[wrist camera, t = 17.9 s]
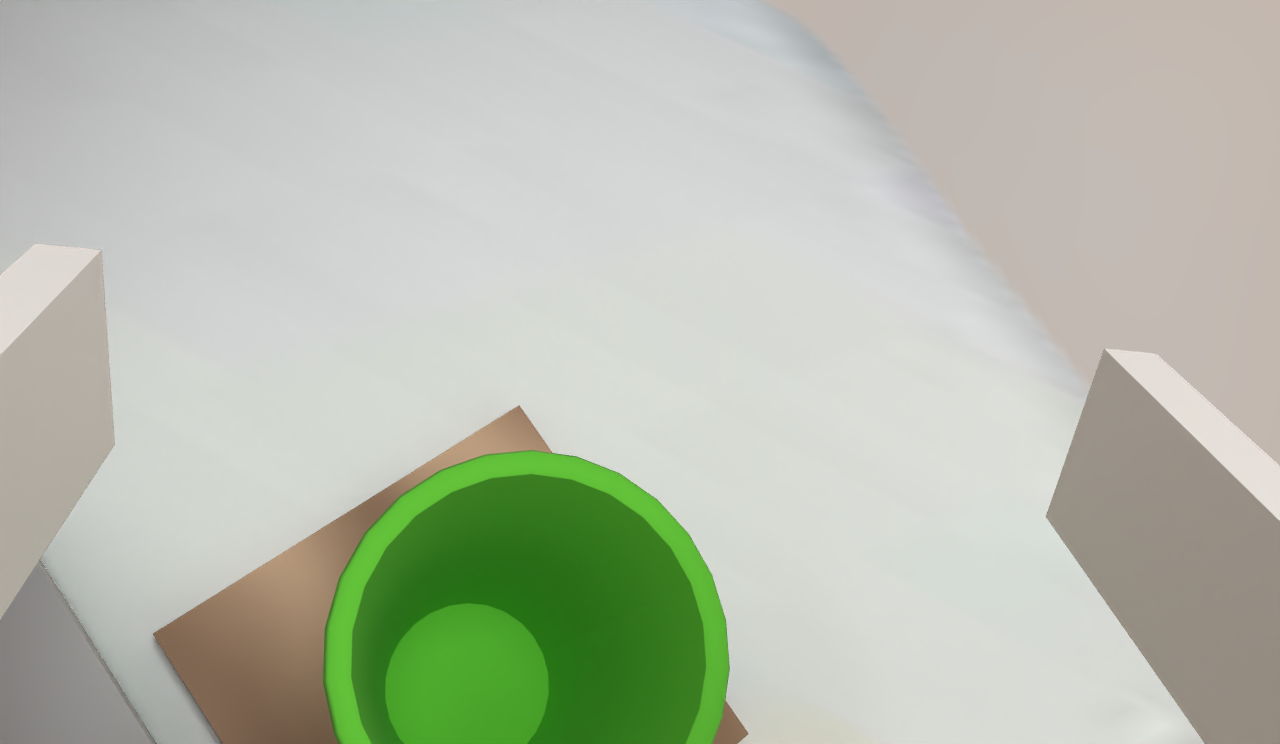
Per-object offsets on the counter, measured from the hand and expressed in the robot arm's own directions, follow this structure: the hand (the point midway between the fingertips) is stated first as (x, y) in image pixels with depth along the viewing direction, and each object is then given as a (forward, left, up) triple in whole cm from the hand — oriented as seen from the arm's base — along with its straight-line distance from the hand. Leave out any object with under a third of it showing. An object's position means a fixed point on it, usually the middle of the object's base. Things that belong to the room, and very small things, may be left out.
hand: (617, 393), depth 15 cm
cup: (+1, -2, -23) cm, 23 cm away
